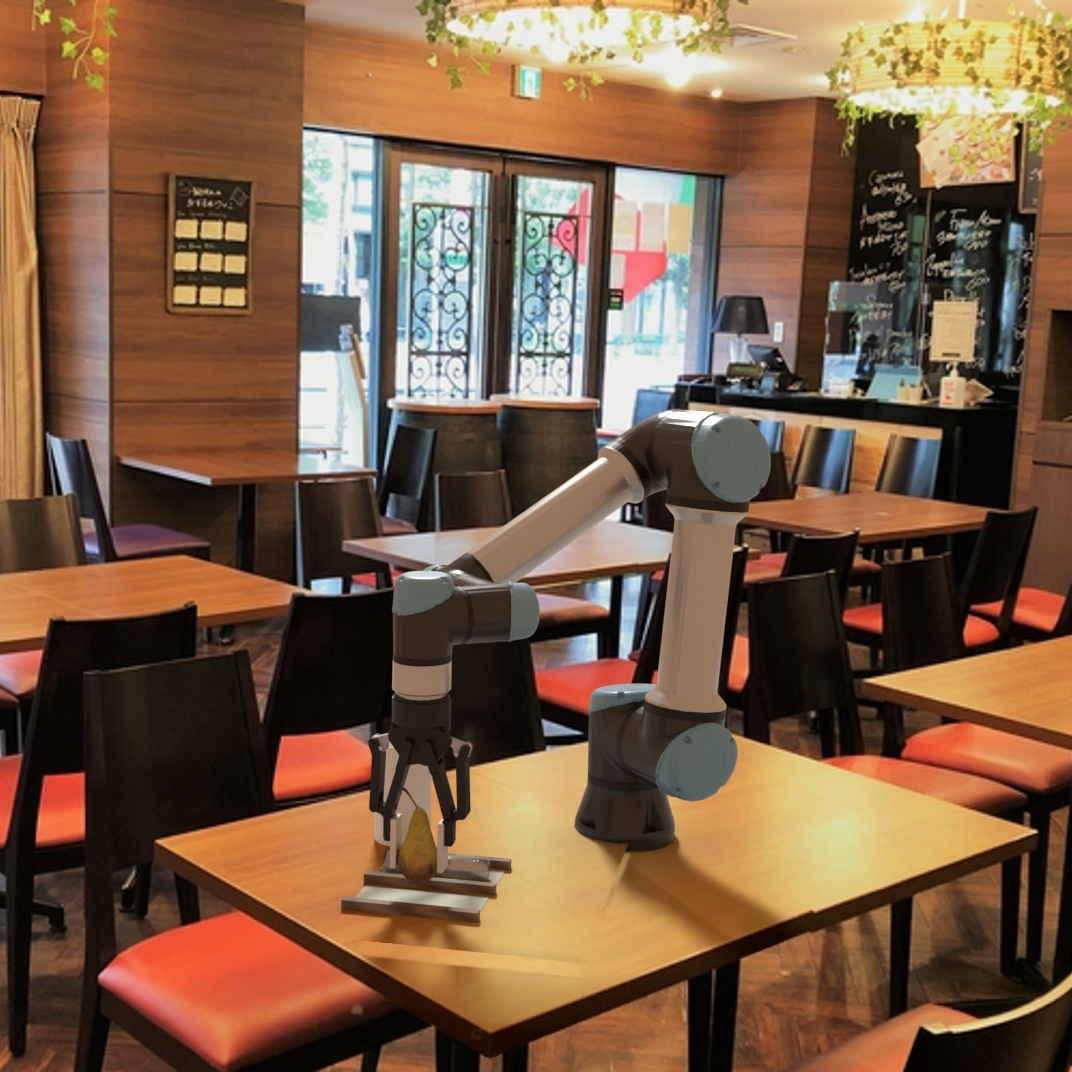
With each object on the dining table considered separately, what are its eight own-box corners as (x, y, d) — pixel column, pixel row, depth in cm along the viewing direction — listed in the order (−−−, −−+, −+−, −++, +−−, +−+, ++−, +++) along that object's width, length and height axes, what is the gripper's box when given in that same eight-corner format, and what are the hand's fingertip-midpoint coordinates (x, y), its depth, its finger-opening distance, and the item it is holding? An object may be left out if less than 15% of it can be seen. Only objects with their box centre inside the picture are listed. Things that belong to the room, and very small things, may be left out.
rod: (490, 867, 205) (488, 855, 203) (486, 886, 203) (484, 874, 201) (392, 858, 208) (388, 846, 206) (387, 876, 206) (383, 864, 203)
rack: (510, 876, 209) (511, 858, 208) (477, 932, 189) (477, 913, 189) (386, 865, 212) (386, 847, 212) (341, 919, 193) (341, 899, 192)
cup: (421, 858, 215) (422, 750, 213) (367, 853, 217) (367, 745, 214) (436, 839, 223) (438, 735, 221) (384, 834, 225) (384, 731, 222)
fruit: (405, 890, 191) (407, 799, 190) (391, 875, 196) (393, 786, 195) (446, 885, 193) (449, 795, 192) (431, 870, 199) (433, 782, 197)
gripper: (498, 691, 194) (495, 863, 197) (361, 681, 197) (359, 850, 200) (485, 705, 186) (481, 884, 190) (342, 694, 190) (341, 870, 193)
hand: (418, 866), depth 195 cm, fingers closed on fruit, 6 cm apart
